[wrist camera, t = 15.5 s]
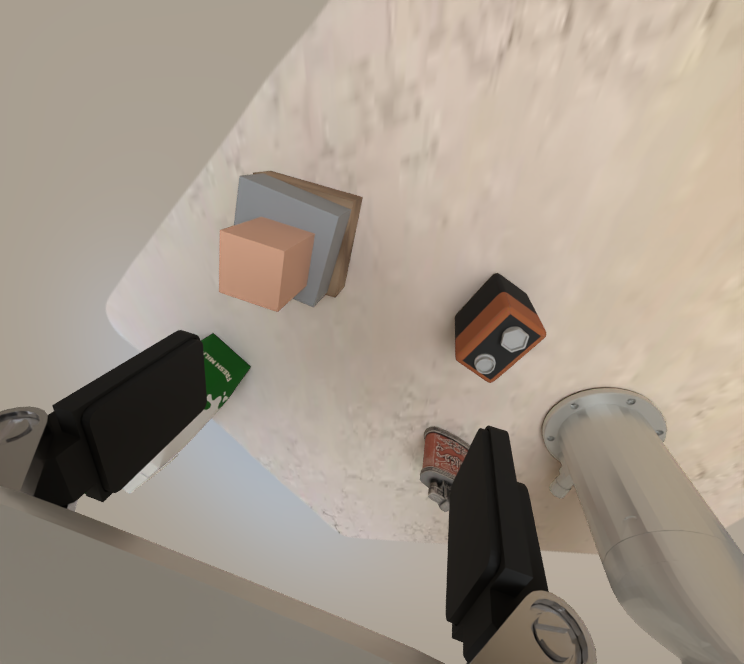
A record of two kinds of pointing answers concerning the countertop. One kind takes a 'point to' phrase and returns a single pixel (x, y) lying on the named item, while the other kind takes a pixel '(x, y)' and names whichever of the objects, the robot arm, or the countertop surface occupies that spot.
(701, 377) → the countertop surface
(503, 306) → the battery
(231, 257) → the pillar block
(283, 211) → the tower top
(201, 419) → the milk carton
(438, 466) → the lighter
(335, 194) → the tower base
